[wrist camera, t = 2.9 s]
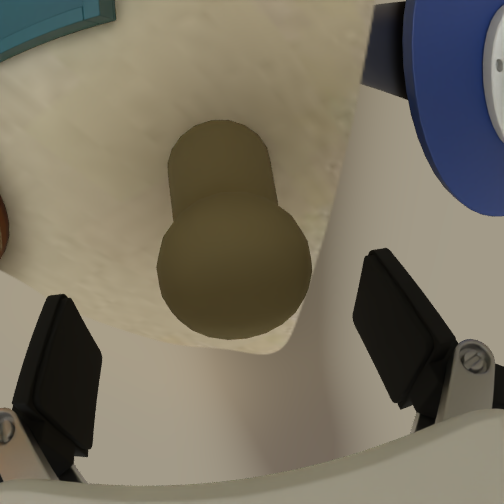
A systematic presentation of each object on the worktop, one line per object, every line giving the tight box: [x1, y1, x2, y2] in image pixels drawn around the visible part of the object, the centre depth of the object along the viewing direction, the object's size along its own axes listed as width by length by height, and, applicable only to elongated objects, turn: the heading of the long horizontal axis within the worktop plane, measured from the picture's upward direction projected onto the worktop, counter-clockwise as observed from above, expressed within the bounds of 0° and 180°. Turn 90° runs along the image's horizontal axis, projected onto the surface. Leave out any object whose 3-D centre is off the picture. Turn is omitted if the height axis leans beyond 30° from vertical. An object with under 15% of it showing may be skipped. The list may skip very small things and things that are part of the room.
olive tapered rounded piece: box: [157, 120, 312, 340], centre depth 14 cm, size 6×6×11 cm
